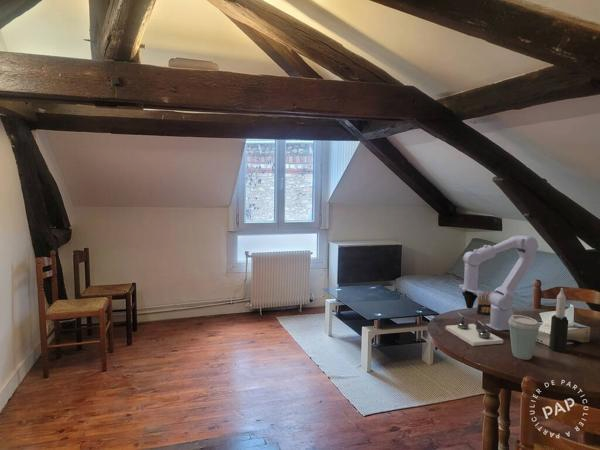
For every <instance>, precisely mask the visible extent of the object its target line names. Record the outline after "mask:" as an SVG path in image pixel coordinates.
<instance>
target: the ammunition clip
mask: <svg viewBox="0 0 600 450" xmlns="http://www.w3.org/2000/svg"><path fill="white" fill-rule="evenodd" d="M482 292H483V296H480V297H477V303H476V304H477V306H476V314H477V315H483V316H484V315H485V316H490V315H491V303H490V302H489V300H488V297H489V295H490V294H491V293H492V292H493V291H490V294H489V291H488V290H487V291H486V293H485V291H484V290H483V291H482Z"/></svg>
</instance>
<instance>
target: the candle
mask: <svg viewBox="0 0 600 450" xmlns="http://www.w3.org/2000/svg"><path fill="white" fill-rule="evenodd" d="M566 301H567V296H566V295H565V292H564V288H563V287H561V288H560V291H559V293H558V294H557V296H556V306H555V314H554V315H552V316H551V323H550V334H549V335H550V336H549V349H550V350H551V351H552V352H559V353H563V354H564V353H566V352H567V347H568V346H567V344H568V343H567V342H568V332H569V320H568V317H567V316H565V315H566V304H567V303H566Z"/></svg>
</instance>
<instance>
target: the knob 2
mask: <svg viewBox="0 0 600 450" xmlns="http://www.w3.org/2000/svg"><path fill="white" fill-rule="evenodd" d="M475 325H476V330H477V331H478V332H479V337H481V338H485V339H488V338H490V333H491V332H490V333H489V331H488V332H486V331H485V330H487V329H486V326H487V325H486V324H484V323H483V322H481V321H480V320H476V322H475Z"/></svg>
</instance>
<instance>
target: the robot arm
mask: <svg viewBox="0 0 600 450" xmlns="http://www.w3.org/2000/svg"><path fill="white" fill-rule="evenodd" d="M512 248H513V249H515V250H516V251H517V252H518V256H519V258H518V259H517V261H516V262H515V264H514V266H513V267H512V268H511V271H510V272H509V273H508V275H507V277H505V280H504V281H503V283H502V284H501V285H500V286H498V287H496V288H495V289H494V290H493V291H492V293H491V292H490V293H491V294H489V297H488V300H489V302H490V303H491V315H489V316H490V319H489V323H485V326H487V327H489V328H490V329H493V330H494V331H497V332H498V331H510V328H509V323H508V321H509V319H510V316H512V315H515V312H514V311H513V309H512V308H511V307H512V305H513V301H514V299H515V295H514V292H515V291H516V289H517V287H518V286H519V284H520V282H521V281H522V279H523V278H524V277H525V275H526V273H527V272H528V271H529V269H530V267H531V265H533V263H534V261H535V258H536V252H537V250H538V248H539V244H538V240H537V238H535V237H533V236H528V235H522V234H516V235H514V236H510V237H509V238H507V239H505V240H503V241H500V242H498V243H497V244H495V245H489V244H488V245H487V244H484V245H483V246H481V247H479V248H475V249H473V251H467V252H465V253H464V255H463V256H462V261H463V263H464V271H463V272H464V273H463V274H464V275H463V277H464V278H463V284H459V285H458V286H459V287H458V289H460V290H462V292H461V295H462V296H463V298H464V301H465V305H466V308H467V309H473V308H474V304H475V302H476V300H477V299H478V297H480V296H481V297H482V296H483V291H481V290H480V289H479V288H478V286H479V285H478V283H479V266H480V265H481V264H482V262H485V261H487V260H489V259H493V258H494V257H495V256H496V254H498V253H500V252H503V251H506V250H509V249H512Z"/></svg>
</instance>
